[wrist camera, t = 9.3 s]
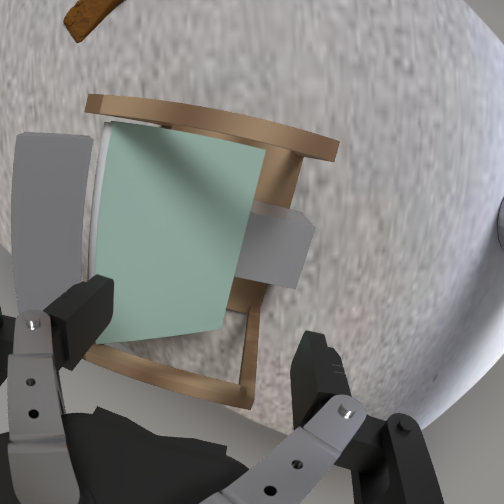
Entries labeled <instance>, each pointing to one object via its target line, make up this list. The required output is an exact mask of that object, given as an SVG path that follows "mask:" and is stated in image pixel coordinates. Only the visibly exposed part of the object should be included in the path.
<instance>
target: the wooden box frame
mask: <svg viewBox="0 0 504 504" xmlns="http://www.w3.org/2000/svg"><path fill="white" fill-rule="evenodd" d="M85 112H86V113H93V114H101V115H107V116H114V117H120V118H126V119H132V120H138V121H143V122H149V123H154V124H159V125H162V127H161V128H165V129H170V130H176V131H182V132H187V133H192V134H197V135H202V136H207V137H212V138H217V139H222V140H226V141H231V142H235V143H239V144H244V145H248V146H252V147H256V148H260V149H264V150H266V152H265V156H264V160H263V164H262V168H261V171H260V175H259V179H258V183H257V187H256V191H255V195H254V199H253V200H255V201H259V202H263V203H267V204H271V205H276V206H280V207H284V208H287V209H289V208H290V205H291V201H292V198H293V194H294V190H295V187H296V183H297V180H298V176H299V172H300V169H301V165H302V161H303V158H304V157H308V158H314V159H320V160H325V161H331V162H334V161H335V158H336V154H337V150H338V146H339V143H340V141H337V140H334V139H331V138H328V137H325V136H321V135H318V134H315V133H311V132H308V131H304V130H301V129H297V128H294V127H290V126H287V125H283V124H279V123H275V122H271V121H267V120H263V119H259V118H255V117H250V116H246V115H241V114H237V113H232V112H227V111H222V110H217V109H212V108H207V107H201V106H195V105H189V104H183V103H176V102H169V101H162V100H154V99H146V98H137V97H126V96H115V95H101V94H88V99H87V103H86V107H85ZM267 284H268V283H263V282H258V281H253V280H249V279H244V278H239V277H235V276H234V278H233V282H232V286H231V290H230V294H229V298H228V302H227V307H226V309H230V310H234V311H238V312H242V313H246V314H248V317H247V324H246V332H245V339H244V347H243V354H242V362H241V369H240V377H239V384H234V383H230V382H225V381H221V380H217V379H213V378H209V377H205V376H201V375H197V374H194V373H190V372H186V371H183V370H179V369H176V368H173V367H169V366H166V365H163V364H159V363H156V362H153V361H150V360H147V359H144V358H141V357H138V356H135V355H131V354H129V353H126V352H123V351H120V350H117V349H115V348H112V347H109V346H106V345H104V344H96V342H94V344H93V345H92V346H91V347H90V349H89V350H88V351H87V353H86V354H85V355H84V356H83V358H82V359H84V360H86V361H89V362H91V363H94V364H96V365H99V366H101V367H104V368H106V369H109V370H111V371H114V372H117V373H120V374H122V375H125V376H128V377H130V378H133V379H136V380H139V381H142V382H145V383H149V384H151V385H154V386H158V387H161V388H164V389H167V390H171V391H174V392H178V393H181V394H184V395H188V396H192V397H196V398H199V399H204V400H207V401H211V402H215V403H220V404H224V405H229V406H233V407H238V408H243V409H248V410H251V407H252V405H253V402H254V397H255V383H256V368H257V353H258V337H259V322H260V307H261V304H262V301H263V297H264V294H265V291H266V287H267Z"/></svg>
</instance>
